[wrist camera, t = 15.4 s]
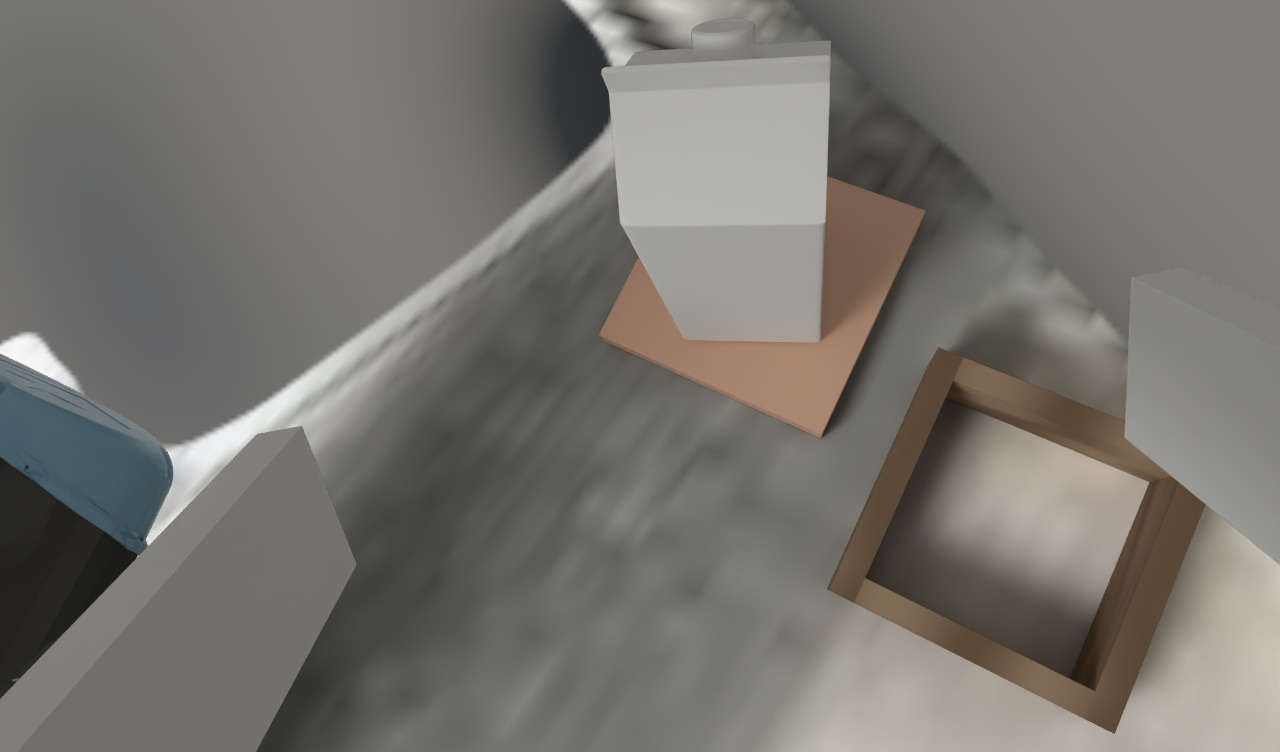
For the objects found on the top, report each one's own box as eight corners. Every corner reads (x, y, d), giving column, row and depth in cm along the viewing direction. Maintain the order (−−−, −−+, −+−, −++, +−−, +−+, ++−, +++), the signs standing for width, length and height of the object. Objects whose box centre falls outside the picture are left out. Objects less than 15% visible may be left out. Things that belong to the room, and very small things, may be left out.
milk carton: (820, 344, 41) (827, 166, 23) (683, 341, 43) (590, 173, 25) (824, 215, 43) (833, -44, 25) (692, 217, 44) (610, -26, 26)
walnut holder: (827, 588, 40) (829, 590, 36) (928, 365, 41) (938, 347, 38) (1086, 718, 36) (1114, 733, 33) (1186, 469, 38) (1222, 460, 34)
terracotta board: (603, 341, 45) (598, 335, 44) (704, 143, 47) (702, 132, 45) (821, 438, 41) (821, 434, 40) (922, 220, 43) (925, 210, 42)
